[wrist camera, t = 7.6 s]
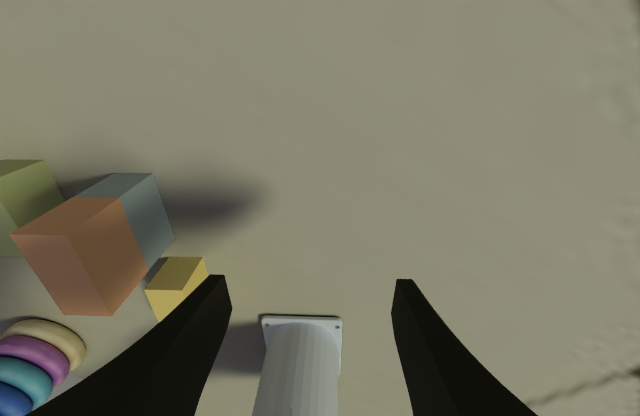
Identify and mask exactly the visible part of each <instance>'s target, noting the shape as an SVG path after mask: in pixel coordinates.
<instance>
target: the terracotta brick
mask: <svg viewBox="0 0 640 416" xmlns="http://www.w3.org/2000/svg"><path fill="white" fill-rule="evenodd" d="M9 235H10V237H11V238H12V240H13V241H14V242H15V244H16V245H17V247H18V248H19V250H20V251H21V253H22V254H23V256H24V257H25V259H26V260H27V262H28V263H29V264H30V266H31V267H32V269H33V270H34V272H35V273H36V275H37V276H38V278H39V279H40V281H41V282H42V284H43V285H44V286H45V288H46V289H47V291H48V292H49V294H50V295H51V297H52V298H53V300H54V301H55V303H56V304H57V306H58V307H59V308H60V310H61V311H62V313H63V314H64V315H84V316H112V315H113V314H114V313H115V311H116V310H117V309H118V308H119V307H120V305H121V304H122V303H123V302H124V300H125V299H126V298H127V297H128V296H129V294H130V293H131V292H132V291H133V289H134V288H135V287H136V286H137V285H138V283H139V282H140V281H141V280H142V278H143V277H144V276H145V275H146V274H147V272H148V271H149V270H148V267H147V265H146V262H145V260H144V258H143V255H142V253H141V250H140V248H139V245H138V243H137V241H136V238H135V236H134V233H133V231H132V228H131V226H130V224H129V221H128V219H127V216H126V214H125V211H124V209H123V207H122V204H121V202H120V199H119V198H85V197H72V198H71V199H69V200H67V201H65V202H64V203H62V204H60V205H59V206H57V207H55V208H53V209H52V210H50V211H48V212H46V213H45V214H43V215H41V216H40V217H38V218H36V219H34V220H33V221H31V222H29V223H28V224H26V225H24V226H22V227H21V228H19V229H17V230H16V231H14V232H12V233H10V234H9Z"/></svg>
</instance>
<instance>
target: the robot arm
mask: <svg viewBox="0 0 640 416" xmlns="http://www.w3.org/2000/svg"><path fill="white" fill-rule="evenodd" d="M231 312H232V305H231V301H230V297H229V293H228V288H227V284H226V280H225V276H224V275H209V276H208V277H207V278H206V279H205V280H204V281H203V282H202V283H201V284H200V285H199V286H198V287H197V288H196V289H195V290H194V291H192V292H191V293H190V294H189V295H188V296H187V297H186V298H185V299H184V300H183V301H182V302H181V303H180V304H179V305H178V306H177V307H176V308H175V309H174V310H173V311H172V312H170V313H169V314H168V315H167V316H166V317H165V318H164V319H163V320H162V321H160V322H159V323H158V324H157V325H156V326H155V327H154V328H152V329H151V330H150V331H149V332H148V333H147V334H145V335H144V336H143V337H142V338H141V339H139V340H138V341H137V342H136V343H134V344H133V345H132V346H130V347H129V348H128V349H126V350H125V351H124V352H123V353H121V354H120V355H119V356H117V357H116V358H114V359H113V360H112V361H110V362H109V363H107V364H106V365H104V366H103V367H102V368H100V369H99V370H97V371H96V372H94V373H93V374H91V375H90V376H88V377H87V378H85V379H84V380H83V381H81V382H79V383H78V384H76V385H75V386H73V387H72V388H70V389H68V390H67V391H65V392H64V393H62V394H60V395H59V396H57V397H55V398H54V399H52V400H50V401H49V402H47V403H46V404H44V405H42V406H40V407H39V408H37V409H35V410H34V411H32V412H30V413H28V414H26V415H24V416H194V415H195V412H196V408H197V405H198V402H199V399H200V396H201V393H202V391H203V388H204V385H205V383H206V380H207V378H208V375H209V373H210V371H211V368H212V366H213V363H214V361H215V358H216V356H217V353H218V351H219V348H220V346H221V343H222V341H223V338H224V336H225V333H226V330H227V327H228V323H229V319H230V316H231ZM391 316H392V324H393V331H394V337H395V342H396V346H397V349H398V353H399V357H400V361H401V365H402V369H403V373H404V377H405V381H406V384H407V388H408V392H409V396H410V401H411V405H412V410H413V416H538V415H536V414H535V413H534V412H533V411H532V410H531V409H529V408H528V407H527V406H526V405H525V404H524V403H523V402H521V401H520V400H519V399H518V398H517V397H516V396H515V395H513V394H512V393H511V392H510V391H509V390H508V389H507V388H506V387H504V386H503V385H502V384H501V383H500V382H499V381H498V380H497V379H496V378H495V377H494V376H493V375H492V374H491V373H490V372H489V371H488V370H487V369H486V368H485V367H484V366H483V365H482V364H481V363H480V362H479V361H478V360H477V359H476V358H475V357H474V356H473V355H472V354H471V353H470V352H469V351H468V350H467V348H466V347H465V346H464V345H463V344H462V343H461V342H460V341H459V339H458V338H457V337H456V336H455V335H454V334H453V332H452V331H451V330H450V329H449V328H448V326H447V325H446V324H445V323H444V321H443V320H442V319H441V318H440V316H439V315H438V314H437V313H436V311H435V310H434V309H433V307H432V306H431V305H430V303H429V302H428V301H427V299H426V298H425V296H424V295H423V294H422V292H421V291H420V289H419V288H418V286H417V285H416V284H415V282H414V281H413V280H412V279H397V281H396V287H395V293H394V299H393V305H392V311H391ZM261 322H262V328H263V334H264V339H265V345H266V355H265V359H264V364H263V368H262V372H261V377H260V381H259V386H258V390H257V395H256V399H255V404H254V408H253V413H252V416H338V376H339V375H340V366H341V343H342V319H340V318H335V317H302V316H269V315H266V316H263V317H262V320H261Z"/></svg>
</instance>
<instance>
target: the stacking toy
mask: <svg viewBox="0 0 640 416" xmlns="http://www.w3.org/2000/svg"><path fill="white" fill-rule="evenodd" d="M85 356H86V347H85V345H84V343H83V341H82V340H81V339H80V338H79V337H78V336H77V335H76V334H75V333H74V332H72V331H71V330H69V329H67V328H65V327H63V326H61V325H59V324H56V323H53V322H49V321H45V320H38V319H29V320H23V321H20V322H17V323H15V324H13V325H12V326H10V327H9V328H8V329H7V330H6V331H5V332H4V334H3V336H2V339H0V416H24V415H26V414H28V413H30V412H32V409H33V408H36V407H38V406H40V405H41V404H43V403H44V402H45V401H46V400H47V399H48V397H49V396H50V394H51V392H52V390H53V387H55V386H57V385H59V384H60V383H61V382H62V381H63V380H64V379H65V378H66V377H67V375H68V373H69V371H71V370H73V369H75V368H77V367H78V366H79V365H80V364H81V363H82V362H83V360H84V358H85Z"/></svg>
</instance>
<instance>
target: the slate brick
mask: <svg viewBox="0 0 640 416" xmlns="http://www.w3.org/2000/svg"><path fill="white" fill-rule="evenodd" d="M74 197H85V198H119V199H120V202H121V204H122V207H123V209H124V211H125V214H126V216H127V219H128V221H129V224H130V226H131V228H132V231H133V233H134V236H135V238H136V241H137V243H138V245H139V248H140V250H141V253H142V255H143V258H144V260H145V262H146V265H147V267H148V270H149V269H150V268H151V267H152V266H153V264H154V263H155V262H156V261H157V260H158V258H159V257H160V256H161V255H162V253H163V252H164V251H165V250H166V249H167V247H168V246H169V245H170V244H171V243H172V241H173V240H174V239H175V238H174V235H173V232H172V229H171V226H170V223H169V220H168V217H167V214H166V211H165V208H164V205H163V202H162V199H161V196H160V193H159V190H158V187H157V184H156V181H155V178H154V175H153V173H113V174H112V175H110V176H108V177H106V178H105V179H103V180H101V181H100V182H98V183H96V184H94V185H93V186H91V187H89V188H88V189H86V190H84V191H82V192H81V193H79V194H77V195H76V196H74Z"/></svg>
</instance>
